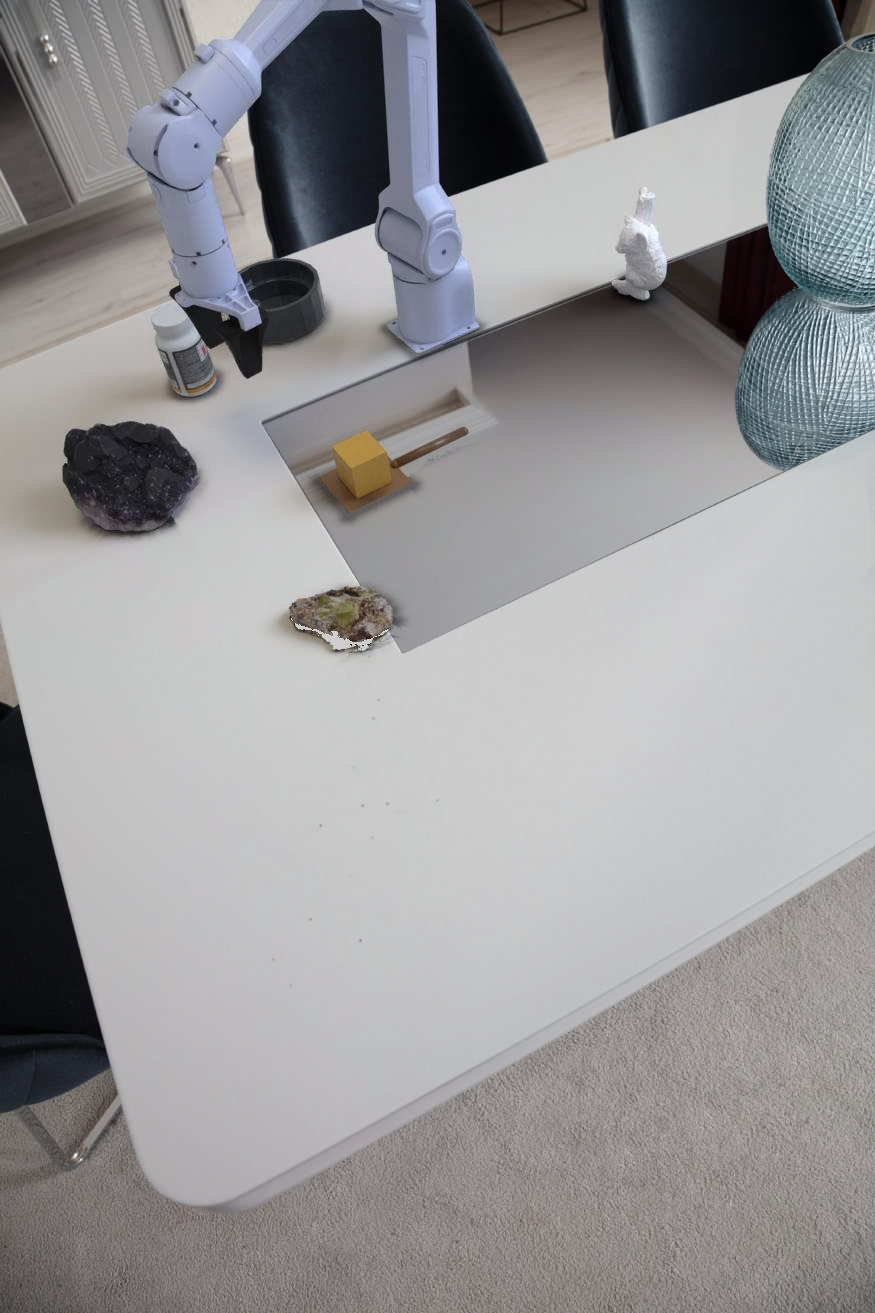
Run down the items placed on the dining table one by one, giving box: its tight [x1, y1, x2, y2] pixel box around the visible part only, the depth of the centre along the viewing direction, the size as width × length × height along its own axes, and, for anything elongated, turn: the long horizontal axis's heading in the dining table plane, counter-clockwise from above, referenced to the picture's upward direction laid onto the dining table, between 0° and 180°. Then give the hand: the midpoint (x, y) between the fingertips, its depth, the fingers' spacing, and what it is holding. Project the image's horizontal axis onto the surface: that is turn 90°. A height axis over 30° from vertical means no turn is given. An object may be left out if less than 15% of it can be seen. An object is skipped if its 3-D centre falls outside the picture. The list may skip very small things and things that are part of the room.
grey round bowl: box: [238, 257, 326, 344], centre depth 122 cm, size 12×12×5 cm
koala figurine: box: [611, 186, 668, 301], centre depth 116 cm, size 8×7×12 cm
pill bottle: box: [150, 302, 217, 398], centre depth 112 cm, size 6×6×10 cm
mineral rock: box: [288, 584, 395, 649], centre depth 90 cm, size 11×4×8 cm
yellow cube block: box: [331, 429, 392, 499], centre depth 101 cm, size 4×4×4 cm
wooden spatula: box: [318, 426, 469, 514], centre depth 104 cm, size 18×7×1 cm, turn 122°
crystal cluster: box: [61, 420, 200, 533], centre depth 102 cm, size 13×14×10 cm
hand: (234, 358), depth 102 cm, fingers open, 7 cm apart
